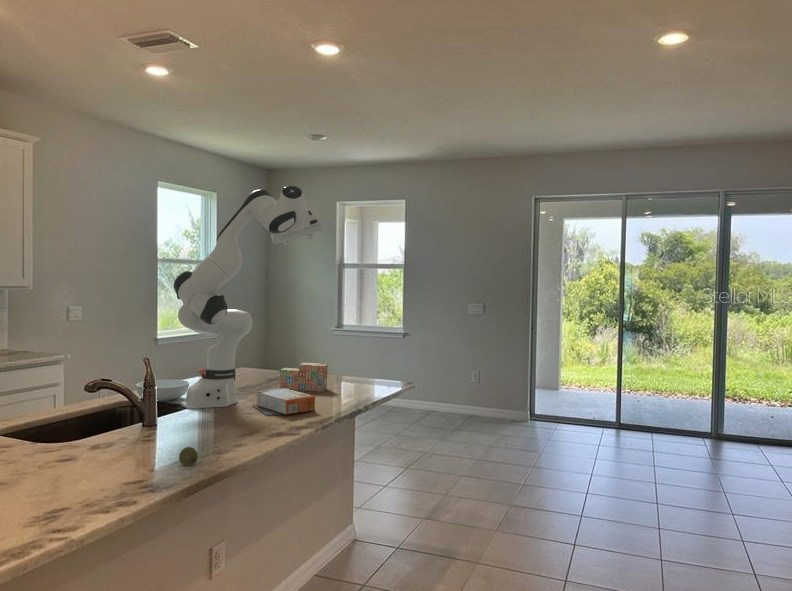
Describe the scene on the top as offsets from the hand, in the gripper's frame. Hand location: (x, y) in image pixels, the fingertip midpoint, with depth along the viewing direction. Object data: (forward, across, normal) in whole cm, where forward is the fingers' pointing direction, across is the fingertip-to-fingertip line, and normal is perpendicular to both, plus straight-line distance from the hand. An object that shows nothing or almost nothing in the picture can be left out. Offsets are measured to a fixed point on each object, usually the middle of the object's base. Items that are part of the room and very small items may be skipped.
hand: (298, 241), depth 233 cm
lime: (-19, -59, -76) cm, 98 cm away
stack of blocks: (+73, -14, -29) cm, 80 cm away
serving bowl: (+50, -71, -20) cm, 90 cm away
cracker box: (+30, -21, -53) cm, 64 cm away
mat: (+39, -27, -48) cm, 67 cm away
